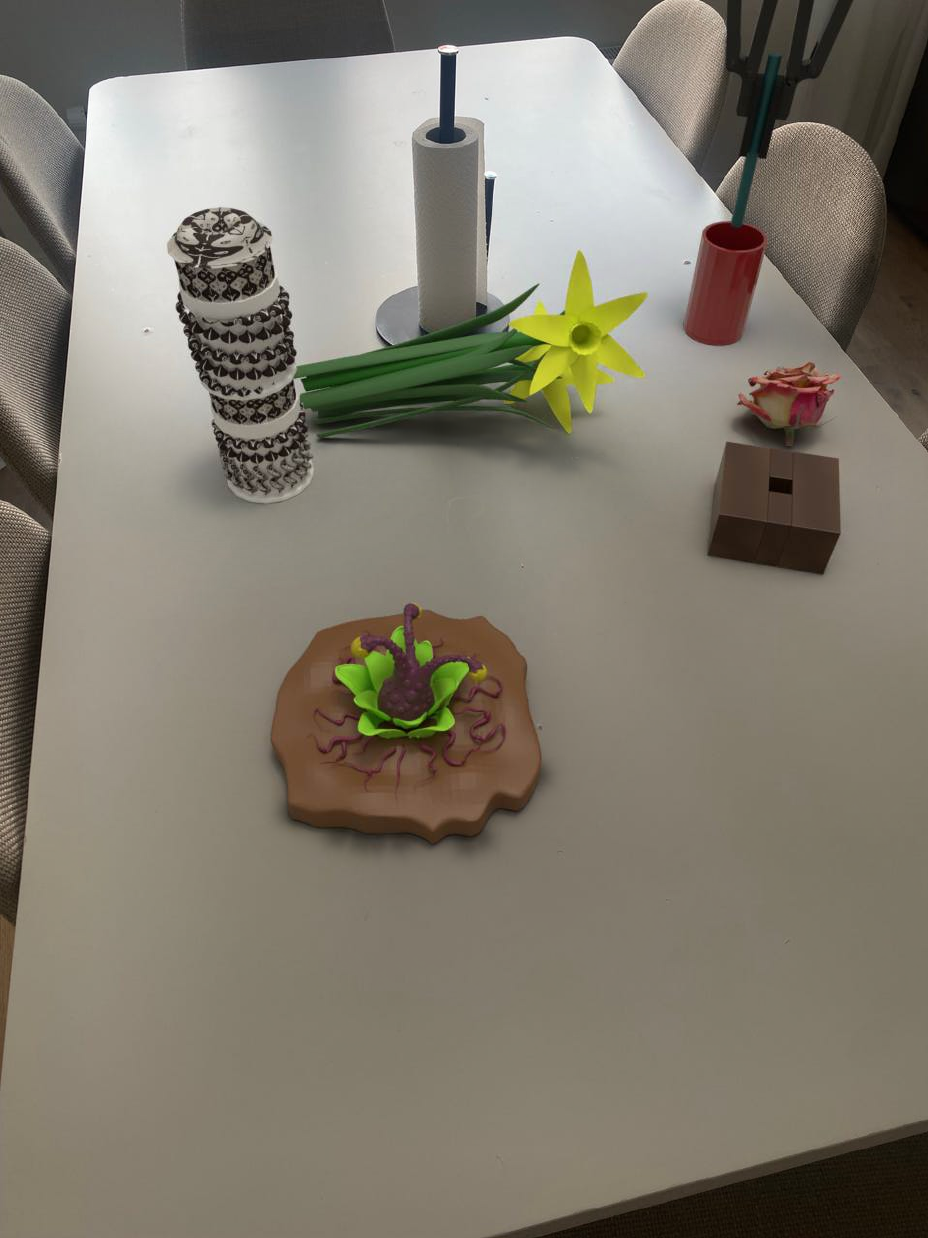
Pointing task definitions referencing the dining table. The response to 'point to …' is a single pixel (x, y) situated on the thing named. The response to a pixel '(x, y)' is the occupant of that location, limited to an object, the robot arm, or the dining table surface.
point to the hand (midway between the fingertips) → (753, 151)
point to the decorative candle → (243, 351)
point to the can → (724, 282)
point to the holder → (776, 508)
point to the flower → (790, 398)
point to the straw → (756, 138)
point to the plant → (407, 726)
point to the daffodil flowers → (481, 363)
